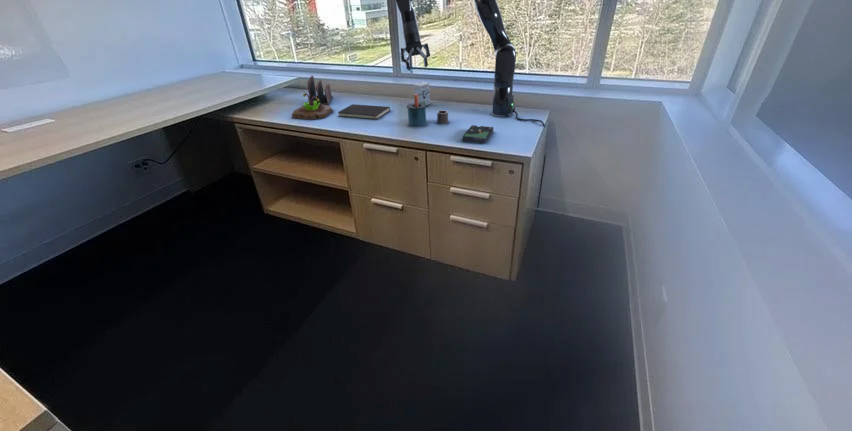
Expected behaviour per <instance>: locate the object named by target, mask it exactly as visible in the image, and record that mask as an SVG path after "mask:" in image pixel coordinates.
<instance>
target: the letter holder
mask: <svg viewBox="0 0 852 431" xmlns="http://www.w3.org/2000/svg"><path fill="white" fill-rule="evenodd" d="M307 91H308V95H309V96H310V99H311V100H312V97H313V96H316V97H317V98H318V99H319V101H317V99H314V100H313V101H317V104H318V103H320V105H325V106H329V104H330V101H331V100H332V96H333V95H332V91H331V86H330V83H327V84H326V85H325V89H324V88H323V82H322V80H321V79H319V81H318V82H317V84H316V83H315V77H314V75H310V77H309V79H308V81H307ZM317 104H316V105H317Z"/></svg>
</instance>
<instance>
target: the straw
mask: <svg viewBox="0 0 852 431" xmlns="http://www.w3.org/2000/svg"><path fill="white" fill-rule="evenodd" d="M413 100H414V102H413V103H415V107H419V105H418V94H415V93H414V94H413Z"/></svg>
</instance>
